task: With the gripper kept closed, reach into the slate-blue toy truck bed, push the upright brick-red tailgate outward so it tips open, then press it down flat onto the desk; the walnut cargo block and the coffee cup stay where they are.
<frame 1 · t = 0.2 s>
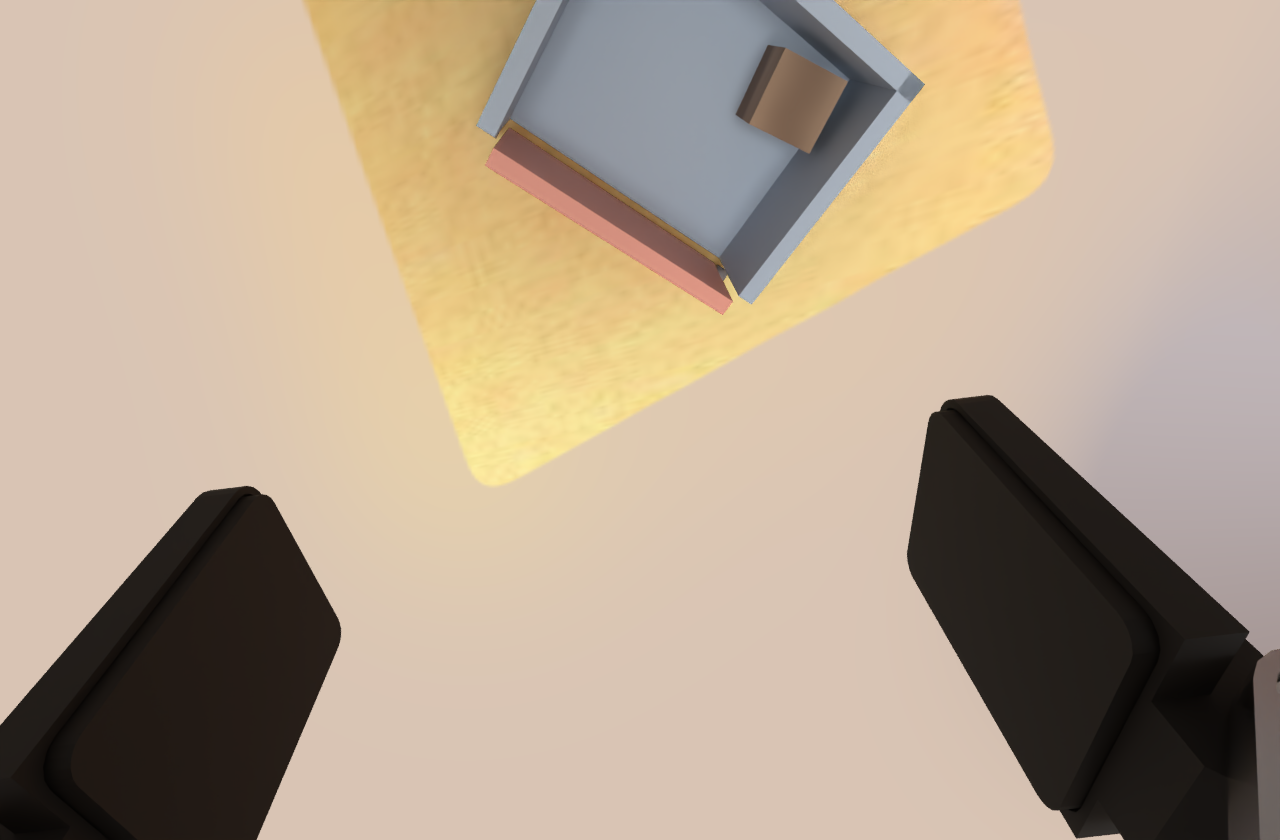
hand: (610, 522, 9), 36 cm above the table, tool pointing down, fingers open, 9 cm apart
truck bed: (682, 89, 38), on the table
cargo block: (775, 93, 39), resting on truck bed
tailgate: (614, 223, 38), point 5 cm above the table, hinge at 0.0°
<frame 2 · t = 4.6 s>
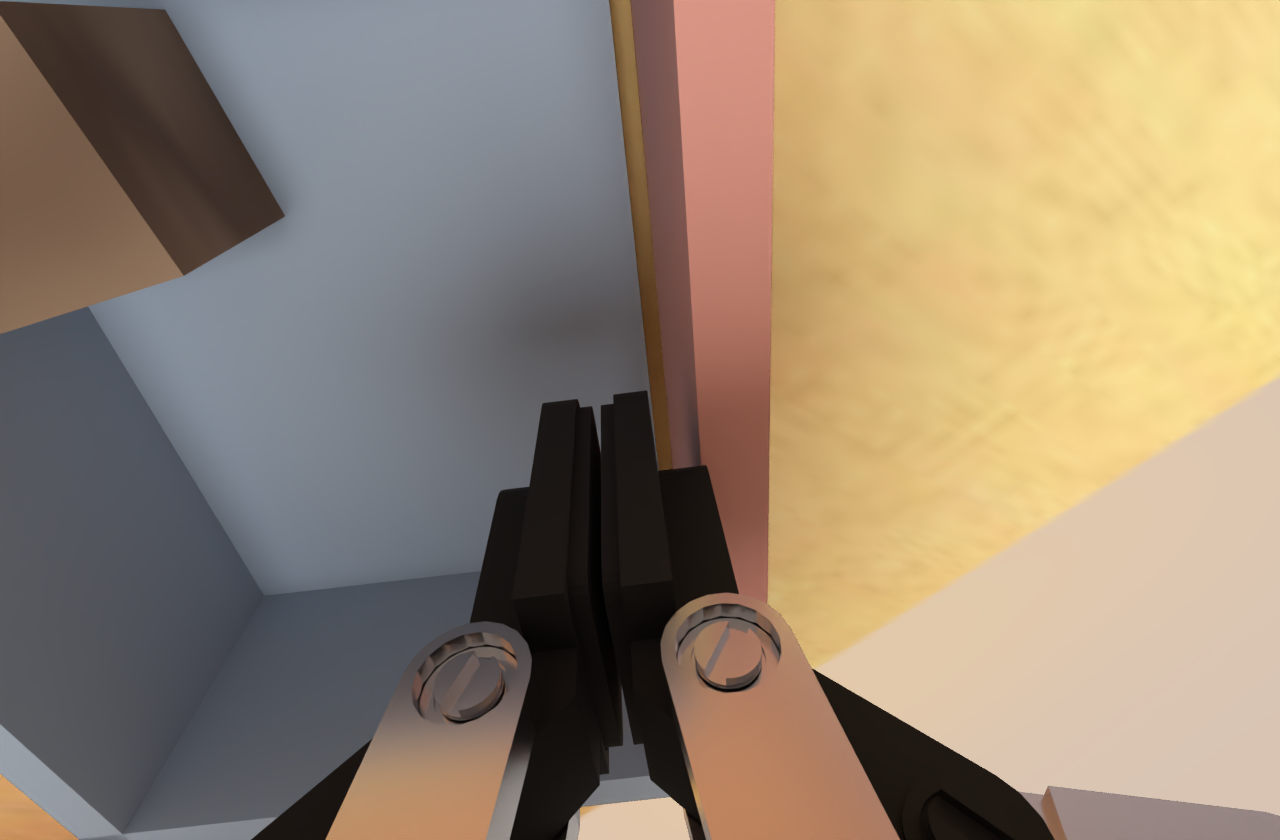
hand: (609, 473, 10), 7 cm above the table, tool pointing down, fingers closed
truck bed: (378, 333, 17), on the table
cargo block: (172, 143, 14), resting on truck bed
tailgate: (710, 384, 12), point 5 cm above the table, hinge at 0.9°, touching gripper
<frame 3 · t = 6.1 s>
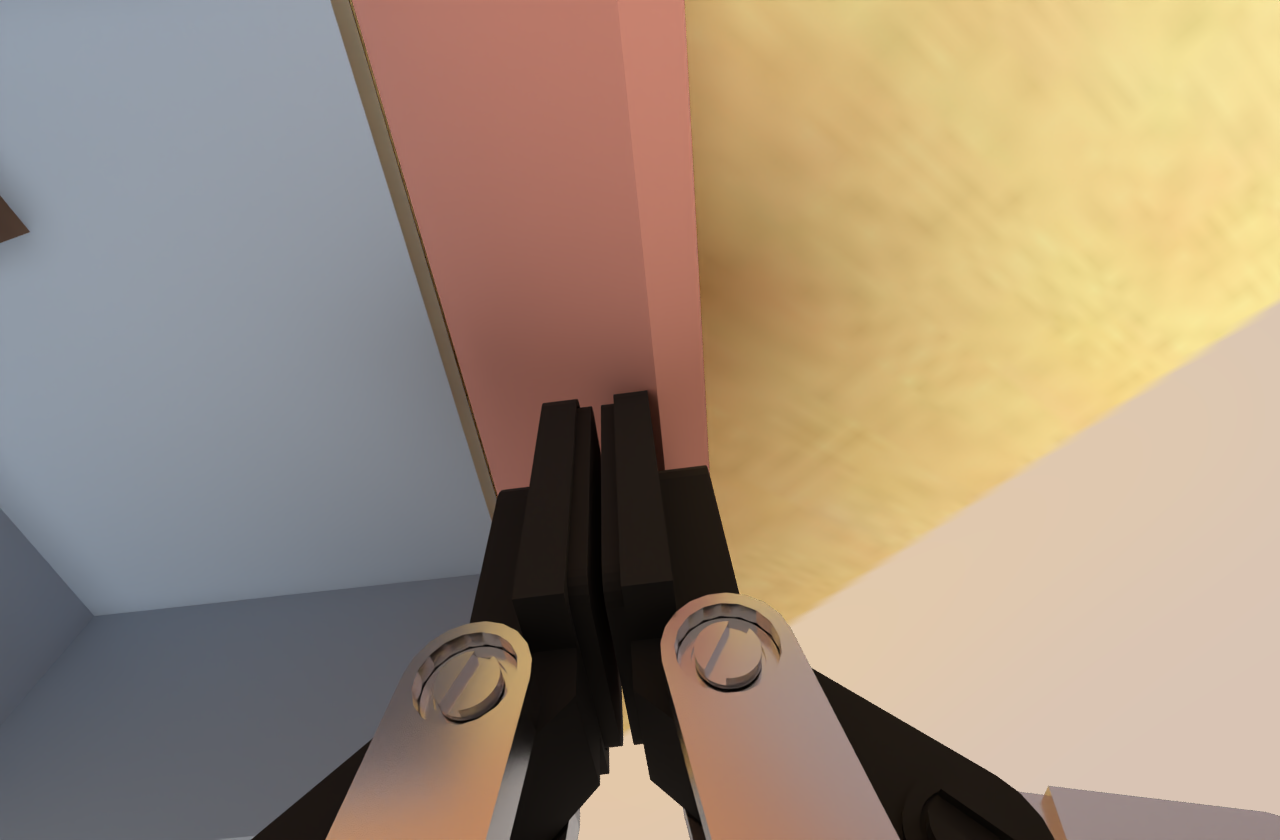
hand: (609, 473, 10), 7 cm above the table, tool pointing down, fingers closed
truck bed: (171, 350, 16), on the table
tailgate: (567, 376, 12), point 4 cm above the table, hinge at 39.7°, touching gripper
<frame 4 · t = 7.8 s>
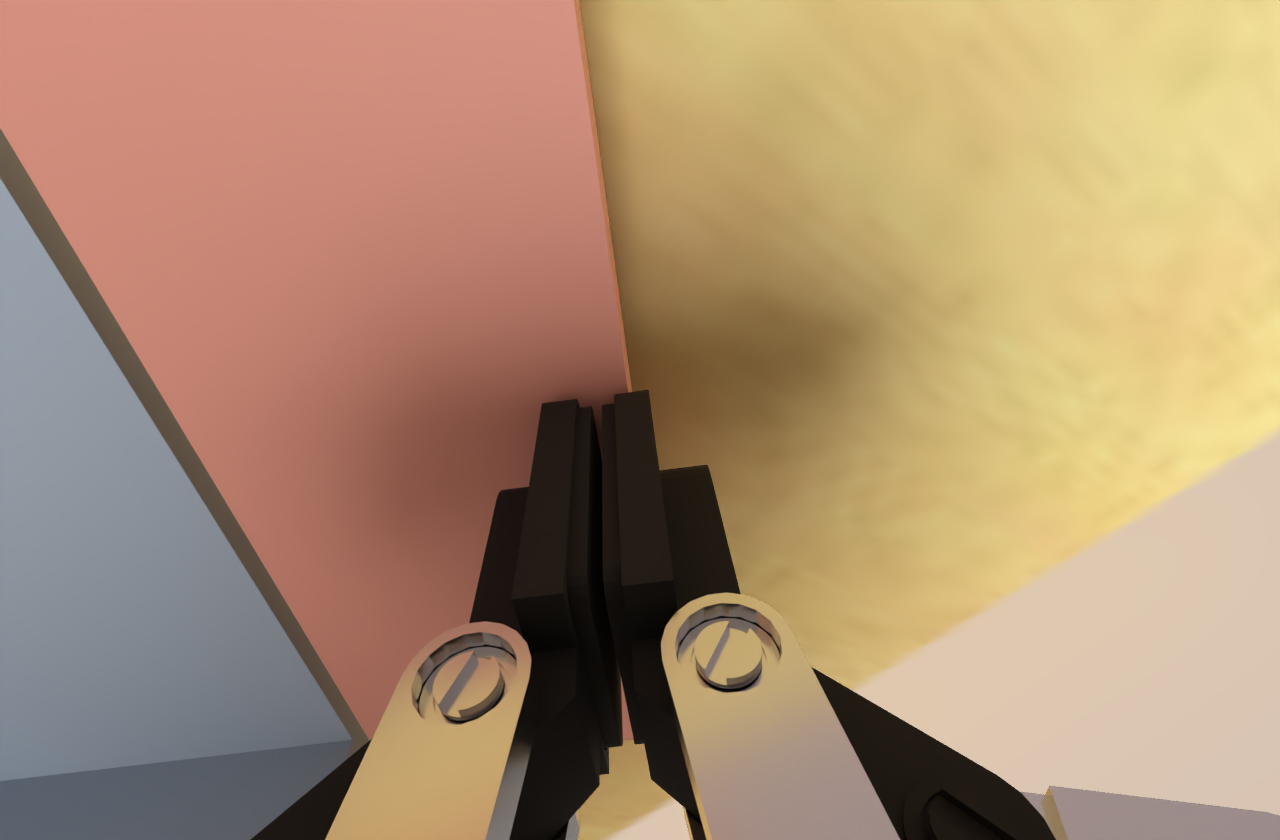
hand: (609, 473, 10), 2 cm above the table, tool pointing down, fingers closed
tailgate: (440, 461, 11), point 1 cm above the table, hinge at 87.7°
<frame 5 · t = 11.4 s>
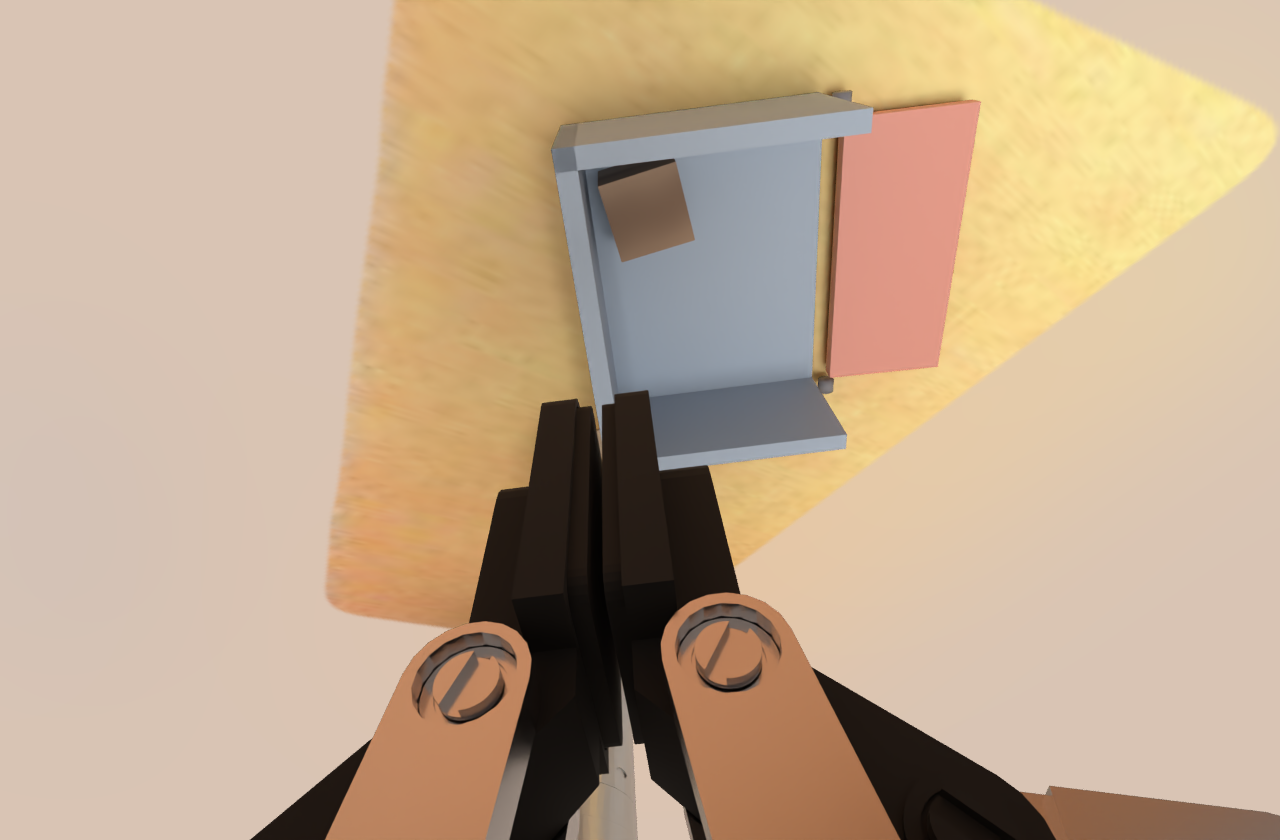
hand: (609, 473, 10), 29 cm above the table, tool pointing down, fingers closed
truck bed: (699, 270, 38), on the table
cargo block: (642, 192, 36), resting on truck bed
tailgate: (892, 252, 37), point 1 cm above the table, hinge at 87.7°
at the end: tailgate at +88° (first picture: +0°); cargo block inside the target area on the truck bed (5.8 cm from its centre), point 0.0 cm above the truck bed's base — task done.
